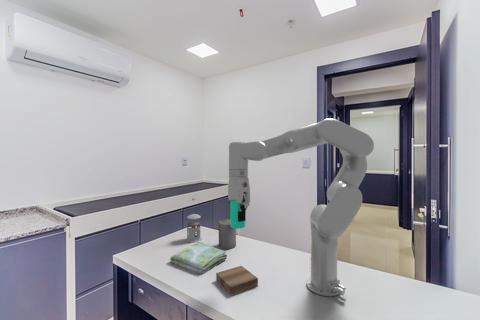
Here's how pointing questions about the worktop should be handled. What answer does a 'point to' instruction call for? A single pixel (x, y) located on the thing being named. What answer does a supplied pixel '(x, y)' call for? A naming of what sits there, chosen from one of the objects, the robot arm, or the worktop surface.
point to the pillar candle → (226, 235)
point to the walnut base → (236, 280)
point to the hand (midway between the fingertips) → (237, 218)
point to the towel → (199, 257)
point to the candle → (235, 215)
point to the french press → (193, 229)
